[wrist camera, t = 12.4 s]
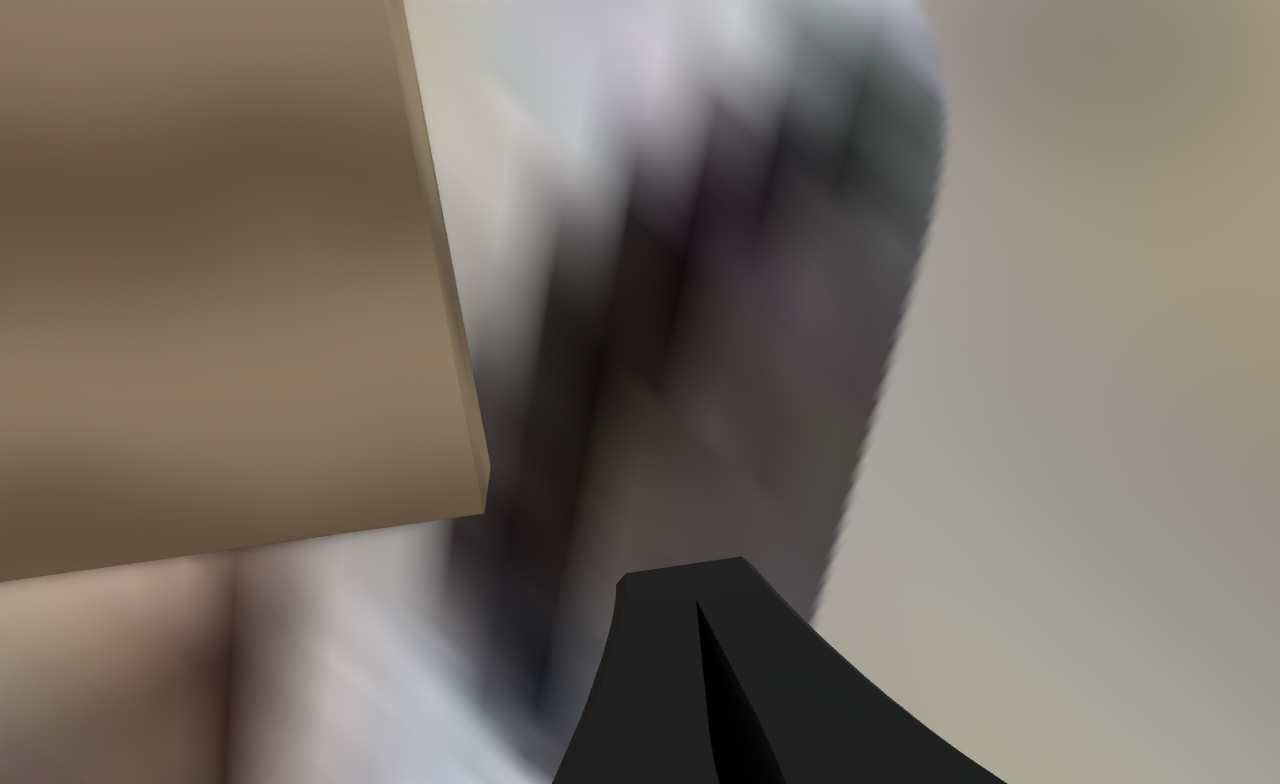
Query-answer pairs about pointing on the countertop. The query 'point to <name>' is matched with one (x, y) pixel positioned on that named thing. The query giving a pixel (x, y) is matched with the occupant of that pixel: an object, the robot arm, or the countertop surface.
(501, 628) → the countertop surface
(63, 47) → the walnut board
